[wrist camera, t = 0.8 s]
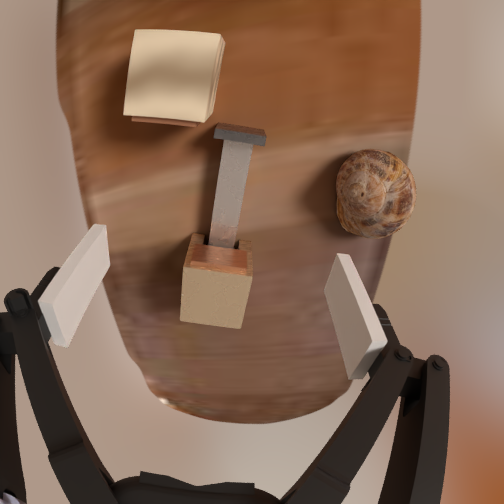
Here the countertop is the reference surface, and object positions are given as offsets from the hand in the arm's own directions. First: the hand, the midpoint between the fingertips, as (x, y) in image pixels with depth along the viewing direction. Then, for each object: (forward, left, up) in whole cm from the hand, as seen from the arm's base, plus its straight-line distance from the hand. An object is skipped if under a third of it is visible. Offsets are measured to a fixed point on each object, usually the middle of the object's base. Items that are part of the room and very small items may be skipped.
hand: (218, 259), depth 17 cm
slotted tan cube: (-9, -7, -20) cm, 23 cm away
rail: (+8, 0, -20) cm, 21 cm away
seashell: (0, +16, -20) cm, 26 cm away
